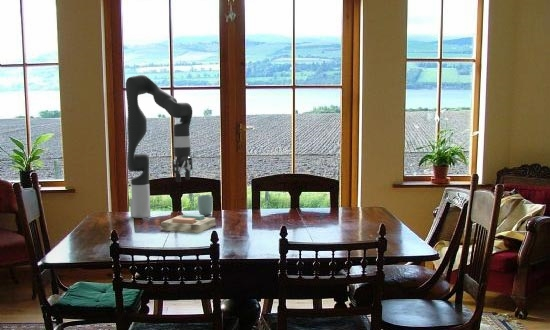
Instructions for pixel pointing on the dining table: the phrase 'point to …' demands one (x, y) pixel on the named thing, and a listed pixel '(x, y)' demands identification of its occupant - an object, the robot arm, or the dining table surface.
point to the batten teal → (193, 216)
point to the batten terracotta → (184, 220)
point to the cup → (205, 204)
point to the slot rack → (189, 225)
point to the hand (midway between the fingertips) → (183, 180)
